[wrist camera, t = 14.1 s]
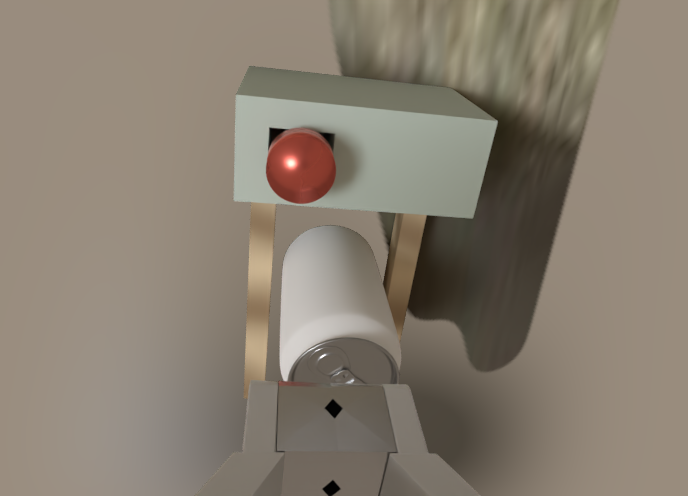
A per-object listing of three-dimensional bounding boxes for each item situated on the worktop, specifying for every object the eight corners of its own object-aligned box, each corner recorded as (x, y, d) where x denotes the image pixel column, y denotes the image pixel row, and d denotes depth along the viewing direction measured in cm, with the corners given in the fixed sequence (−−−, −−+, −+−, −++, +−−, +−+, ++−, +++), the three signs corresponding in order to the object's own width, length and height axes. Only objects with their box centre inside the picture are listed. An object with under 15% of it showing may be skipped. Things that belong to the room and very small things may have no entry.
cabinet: (249, 65, 29) (235, 94, 22) (451, 88, 31) (497, 121, 24) (246, 150, 32) (233, 200, 25) (434, 166, 33) (473, 218, 26)
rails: (254, 174, 32) (251, 185, 31) (422, 187, 34) (429, 199, 32) (245, 379, 40) (243, 398, 38) (383, 383, 42) (387, 401, 40)
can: (340, 204, 34) (362, 308, 23) (391, 271, 37) (431, 391, 26) (263, 256, 35) (250, 376, 25) (317, 317, 38) (328, 448, 27)
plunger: (273, 95, 28) (267, 133, 21) (328, 101, 28) (339, 140, 21) (270, 149, 29) (264, 201, 22) (323, 154, 29) (332, 206, 23)
